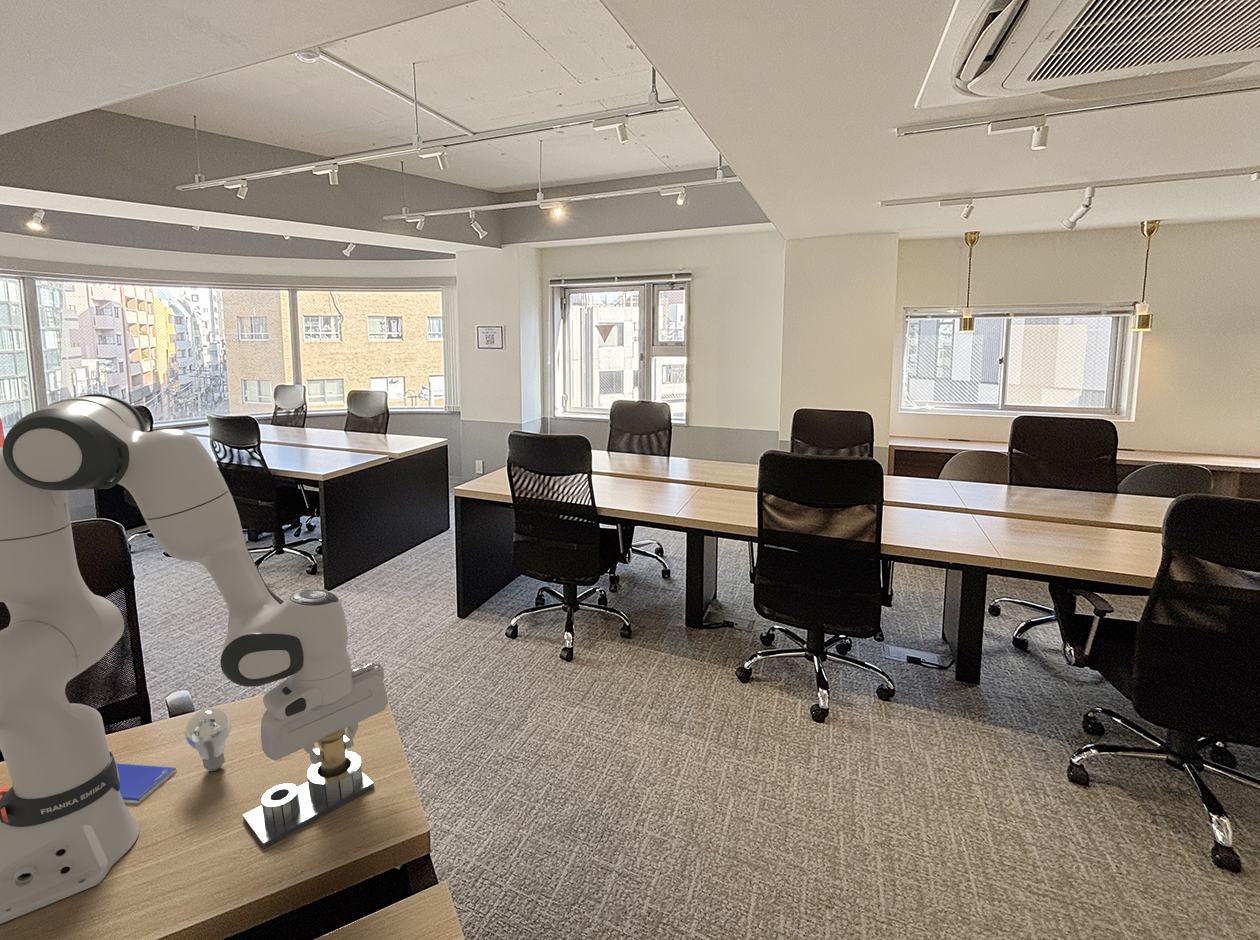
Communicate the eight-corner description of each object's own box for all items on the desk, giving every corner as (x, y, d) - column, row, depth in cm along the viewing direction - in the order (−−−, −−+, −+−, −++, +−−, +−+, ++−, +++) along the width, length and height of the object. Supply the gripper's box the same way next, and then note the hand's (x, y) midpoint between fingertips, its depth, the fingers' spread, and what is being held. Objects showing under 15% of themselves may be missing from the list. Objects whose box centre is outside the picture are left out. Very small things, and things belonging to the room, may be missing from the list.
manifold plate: (264, 848, 100) (260, 824, 99) (243, 819, 106) (239, 796, 105) (374, 787, 113) (371, 765, 112) (350, 764, 119) (347, 743, 118)
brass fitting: (328, 792, 109) (321, 741, 107) (316, 780, 112) (310, 729, 110) (354, 778, 113) (349, 728, 111) (342, 767, 116) (336, 717, 114)
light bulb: (216, 784, 114) (205, 725, 112) (183, 779, 116) (172, 720, 113) (246, 759, 121) (237, 702, 118) (214, 754, 122) (205, 698, 120)
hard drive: (175, 766, 118) (114, 761, 119) (138, 798, 110) (72, 792, 111) (177, 773, 118) (115, 769, 119) (139, 806, 110) (73, 800, 111)
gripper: (373, 652, 118) (380, 719, 121) (251, 700, 103) (262, 775, 106) (390, 664, 114) (397, 733, 117) (266, 716, 99) (277, 793, 102)
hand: (332, 754), depth 111 cm, fingers closed on brass fitting, 4 cm apart
